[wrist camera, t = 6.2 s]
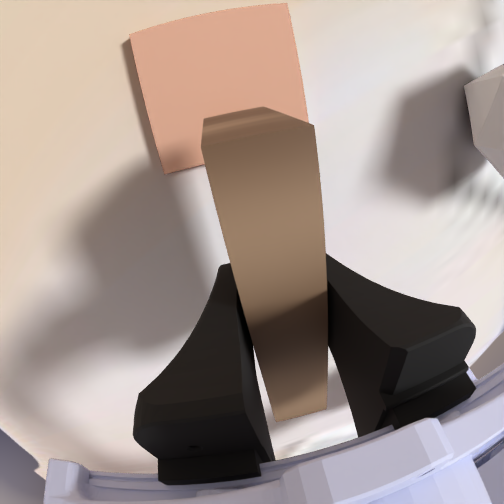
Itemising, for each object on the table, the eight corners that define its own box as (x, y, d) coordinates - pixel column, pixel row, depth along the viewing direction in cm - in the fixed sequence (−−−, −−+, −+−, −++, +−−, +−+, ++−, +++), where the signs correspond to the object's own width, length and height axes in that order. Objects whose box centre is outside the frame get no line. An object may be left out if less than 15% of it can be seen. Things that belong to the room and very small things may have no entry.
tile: (311, 142, 15) (287, 3, 11) (164, 174, 15) (129, 34, 11) (304, 138, 16) (281, 8, 12) (167, 168, 16) (134, 37, 12)
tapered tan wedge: (296, 322, 17) (326, 408, 12) (255, 332, 17) (275, 422, 12) (263, 106, 11) (314, 124, 6) (203, 118, 11) (200, 147, 6)
